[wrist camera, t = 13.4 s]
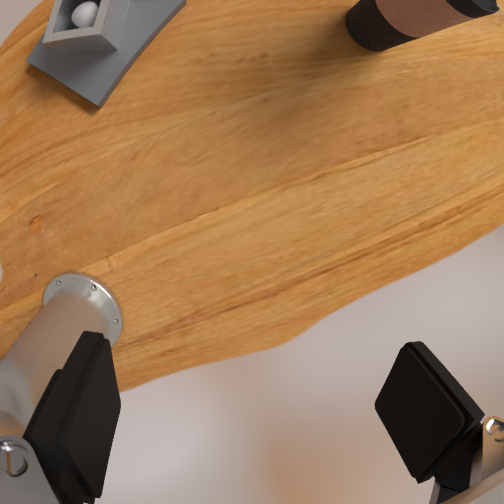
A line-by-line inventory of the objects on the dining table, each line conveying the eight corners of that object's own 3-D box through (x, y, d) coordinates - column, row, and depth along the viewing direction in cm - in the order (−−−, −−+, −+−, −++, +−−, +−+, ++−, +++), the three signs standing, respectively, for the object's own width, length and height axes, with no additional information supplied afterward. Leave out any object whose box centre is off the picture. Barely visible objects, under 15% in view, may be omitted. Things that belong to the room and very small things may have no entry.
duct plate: (102, 107, 29) (81, 101, 24) (31, 63, 25) (7, 54, 20) (186, 3, 26) (182, -19, 20) (107, -32, 22) (93, -52, 16)
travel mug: (332, 12, 28) (419, -63, 9) (374, -1, 27) (467, -59, 9) (363, 60, 31) (475, 18, 12) (403, 45, 30) (512, 11, 11)
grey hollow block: (118, 49, 26) (100, 34, 20) (66, 55, 25) (42, 43, 19) (140, -31, 22) (129, -54, 16) (89, -24, 21) (73, -44, 15)
